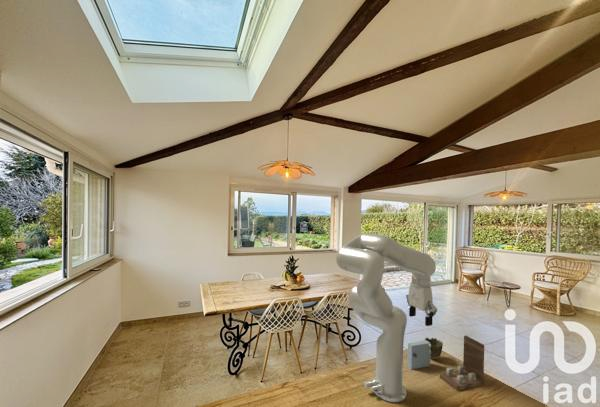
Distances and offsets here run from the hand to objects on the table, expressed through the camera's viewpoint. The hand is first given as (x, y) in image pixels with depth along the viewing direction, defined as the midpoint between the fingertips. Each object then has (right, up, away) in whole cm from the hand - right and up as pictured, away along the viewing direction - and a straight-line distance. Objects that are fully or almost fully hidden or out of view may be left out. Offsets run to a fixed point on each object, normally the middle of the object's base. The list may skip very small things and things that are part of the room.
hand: (420, 320), depth 117 cm
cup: (+9, -20, +6) cm, 23 cm away
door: (-1, -20, 0) cm, 20 cm away
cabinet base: (+12, -20, -10) cm, 25 cm away
